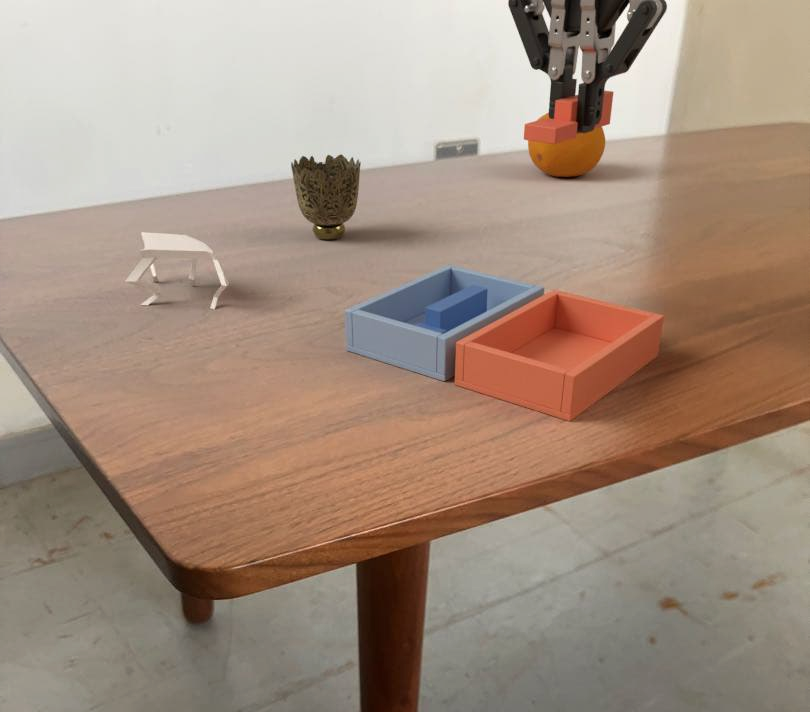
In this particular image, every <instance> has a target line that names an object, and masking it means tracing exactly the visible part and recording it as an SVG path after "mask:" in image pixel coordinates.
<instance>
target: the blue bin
mask: <svg viewBox="0 0 810 712" xmlns="http://www.w3.org/2000/svg"><path fill="white" fill-rule="evenodd" d="M471 285H475V286H479V287H483V288H487V289H488V293H487V312H485V313H483V314H481V315H479V316H477V317H475V318H473V319H471V320H469V321H467V322H466V323H464V324H462V325H460V326H458V327H456V328H454V329H452V330H450V331H448V332H446V333H444V334H442V333H439V332H435V331H432V330H428V329H425V328H421V327H418V326H414V324H416V323H418V322H419V323H423V324H425V308H426V307H428V306H430V305H432V304H434V303H436V302H438V301H440V300H442V299H444V298H446V297H448V296H451V295H453V294H455V293H457V292H459V291H461V290H463V289H465V288H467V287H469V286H471ZM543 295H545V287H544V286H541V285H536V284H532V283H529V282H524V281H519V280H516V279H512V278H508V277H503V276H499V275H494V274H491V273H487V272H482V271H477V270H474V269H470V268H465V267H460V266H457V265H452V264H447V265H445V266H442V267H440V268H437V269H436V270H435V269H434V270H433V271H431V272H429V273H426V274H424V275H422V276H419V277H417V278H415V279H413V280H411V281H408V282H405V283H403V284H400V285H399V286H397V287H394V288H392V289H389V290H387V291H385V292H383V293H380V294H378V295H376V296H374V297H371V298H369V299H367V300H364V301H362V302H360V303H358V304H354V305H353V306H351V307H348V308H346V309H345V310H344V327H345V328H344V329H345V351H347V352H351V353H353V354H357V355H360V356H363V357H367V358H369V359H372V360H375V361H377V362H378V361H379V362H382V363H385V364H388V365H391V366H394V367H398V368H401V369H404V370H407V371H410V372H414V373H417V374H420V375H423V376H426V377H430V378H433V379H435V380H439V381H442V382H447V381H448V380H451V379H452V378H454V377H455V361H456V342H457V341H459V340H461V339H463V338H465V337H467V336H469V335H470V334H472V333H474V332H476V331H478V330H480V329H482V328H483V327H485V326H487V325H489V324H491V323H493V322H495V321H496V320H498V319H500V318H502V317H504V316H506V315H508V314H510V313H511V312H513V311H515V310H517V309H519V308H521V307H523V306H524V305H526V304H528V303H530V302H532V301H534V300H536V299H537V298H539V297H541V296H543Z"/></svg>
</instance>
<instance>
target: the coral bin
mask: <svg viewBox="0 0 810 712" xmlns="http://www.w3.org/2000/svg"><path fill="white" fill-rule="evenodd" d="M664 319H665V315H663V314H658V313H655V312H651V311H646V310H643V309H638V308H634V307H630V306H625V305H621V304H617V303H613V302H609V301H605V300H601V299H596V298H592V297H587V296H584V295H579V294H574V293H571V292H567V291H563V290H558V289H552V290H550V291H549V292H547V293H544V295H543V296H541V297H539V298H537V299H536V300H534V301H532V302H530V303H528V304H526V305H524V306H523V307H521V308H519V309H517V310H515V311H513V312H511V313H510V314H508V315H506V316H504V317H502V318H500V319H498V320H496V321H495V322H493V323H491V324H489V325H487V326H485V327H483V328H482V329H480V330H478V331H476V332H474V333H472V334H470V335H469V336H467V337H465V338H463V339H461V340H459V341H457V342H456V361H455V376H454V386H457V387H460V388H464V389H467V390H470V391H473V392H477V393H479V394H482V395H485V396H489V397H491V398H495V399H498V400H502V401H504V402H508V403H511V404H514V405H518V406H521V407H524V408H527V409H530V410H533V411H537V412H540V413H542V414H546V415H548V416H552V417H555V418H558V419H562V420H564V421H568V422H571V421H572V420H574V419H575V418H576V417H579V416H580V415H581V414H582V413H583V412H584V411H586V410H587V409H588V408H590V407H592V406H593V405H595V403H597V402H598V401H600V400H601V399H602V398H603V397H605V396H606V395H608V394H609V393H610V392H611V391H613V390H615V389H616V388H617V387H619V386H620V385H622V384H623V383H624V382H625V381H627V380H628V379H629V378H630V377H632V376H633V375H634V374H636V373H637V372H639V371H640V370H642V369H643V368H644V367H645V366H647V365H648V364H649V363H651V362H652V361H654V360H655V359H657V358H658V356H659V352H660V351H659V350H660V345H661V338H662V333H663V327H664Z"/></svg>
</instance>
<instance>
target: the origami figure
mask: <svg viewBox="0 0 810 712" xmlns="http://www.w3.org/2000/svg"><path fill="white" fill-rule="evenodd" d="M140 234H141V238H142V243H143V249H140V250H138V252H139V254H140V256H141V260H140V261H139V262H138V263H137V265H136V266H135V267H134V268H133V270H132V271H131V273H130V274H129V275H128V277H127V278H126V279H125V281H124V282H125V283H127V284H129V285H132V286H135V287H138V288H139V289H142V290H144V291H146V292H149V293H151V294H153V295H151V296H150V297H149V298H147V299H146V300H144V301H143V302H142V303H141V304H140V306H150V305H151V304H152V303H153V302H154V301H156V300H157V299H158V298H159V297H160V296H162V295H163V292H161V291H159V290H158V289H156V288H155V287H153V286H152V285H150V284H148V283H146V282H145V281H143V280H142V279H141V278H142V277H143V276H144V275H145V274H146V272H147V271H148V270H149V268H150V271H151V275H152V282H154V283H157V282H159V278H158V275H157V274H158V273H157V272H158V271H157V266H156V265H157V264H156V260H157V259H158V258H163V259H164V258H167V259H190V260H191V261H190V269H189V275H188V280H189V282H190V284H191V286H192V287H197V284H196V282H195V274H196V270H197V263H198V259H199V260H212V262H213V264H214V268H215V270H216V273H217V276H218V279H219V282H220V287H218V289H217V291H215V293H214V294H213V297H212V300H211V304H210V307H209V309H211V310H215V309H216V308H217V305H218V300H219V297H220V296H221V294H222V293H223V292H224V291H225V289H226V288H228V286H229V285H230V282H229V280H228V278H227V275H226V272H225V269H224V268H223V266H222V264H221V262H220V260H219V258H218V256H217V255H216V254H215V252H214V251H213V250H212V249H211V248H210V247H209V246H208V245H207V244H206V243H205V242H203V241H201V240H199V239H196V238H195V237H191V236H188V235H187V234H177V233H162V232H161V233H159V232H148V231H147V232H144V231H141V233H140Z"/></svg>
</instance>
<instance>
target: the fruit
mask: <svg viewBox="0 0 810 712" xmlns="http://www.w3.org/2000/svg"><path fill="white" fill-rule="evenodd" d="M548 114H549V112H546V113H545V114H543V115H542V116H540V117H539V118H537V120H536V121H538V120H542V119H545V118H549V115H548ZM527 148H528V154H529V157H530V159H531V161H532V163H533V165H534V166H535V167H536V168H538V170H540V171H541V172H543V173H544V174H546V175H549V176H552V177H557V178H570V177H571V178H572V177H578V176H582V175H585V174H587V173H589V172H590V171H591V170H593V169H594V168H596V166H597V165H598V164H599V162H600V161H601V159H602V157H603V155H604V152H605V148H606V135H605V131H604V129H603V126H602V127H599V128H595V129H594V130H593V131H591V132H587V133H579V134H577V135H576V138H573V139H570V140H567V141H564V142H560V143H557V144H550V143H543V142H536V141H529V140H527Z"/></svg>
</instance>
